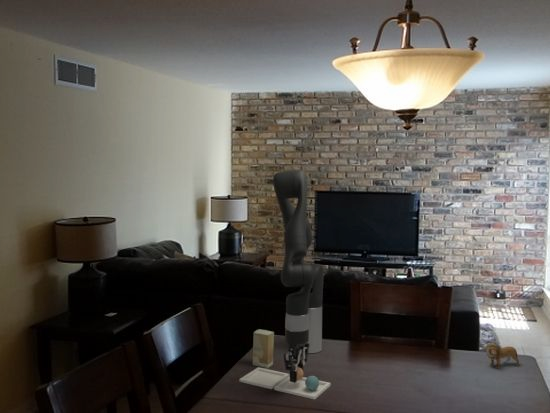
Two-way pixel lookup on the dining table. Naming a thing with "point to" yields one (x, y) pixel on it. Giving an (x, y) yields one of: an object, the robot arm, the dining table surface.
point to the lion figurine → (501, 354)
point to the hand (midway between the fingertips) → (296, 379)
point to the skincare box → (263, 348)
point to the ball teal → (312, 383)
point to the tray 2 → (301, 388)
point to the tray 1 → (264, 378)
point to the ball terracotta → (299, 373)
